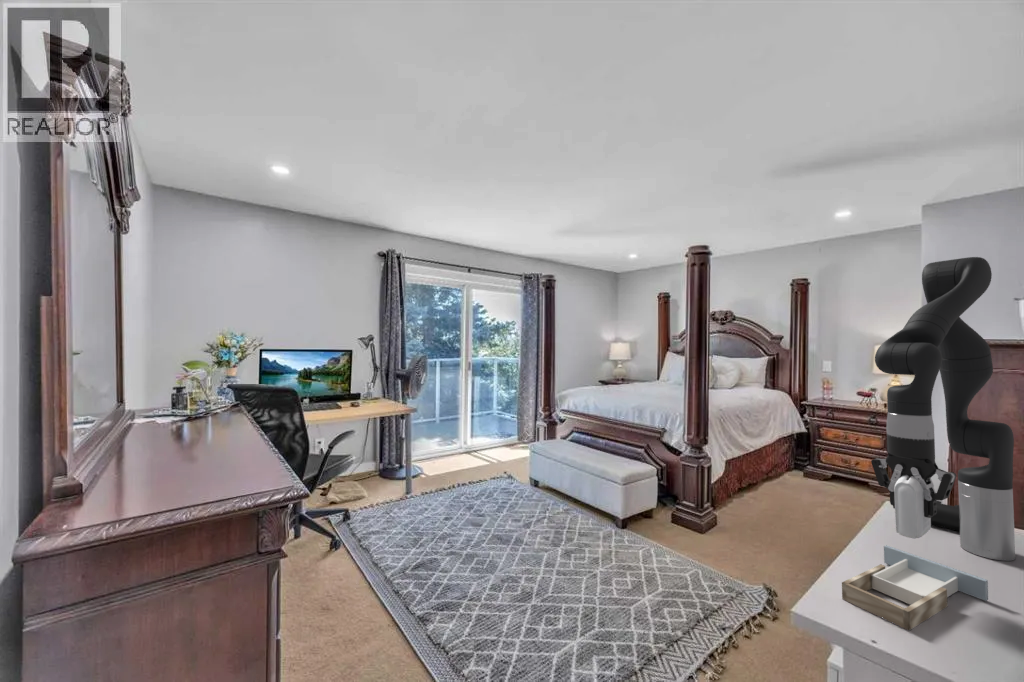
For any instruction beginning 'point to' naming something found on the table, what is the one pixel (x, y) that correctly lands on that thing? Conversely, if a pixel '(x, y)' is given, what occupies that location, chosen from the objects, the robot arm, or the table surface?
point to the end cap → (946, 516)
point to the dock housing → (904, 617)
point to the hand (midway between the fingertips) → (912, 512)
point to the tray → (923, 578)
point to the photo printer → (910, 508)
